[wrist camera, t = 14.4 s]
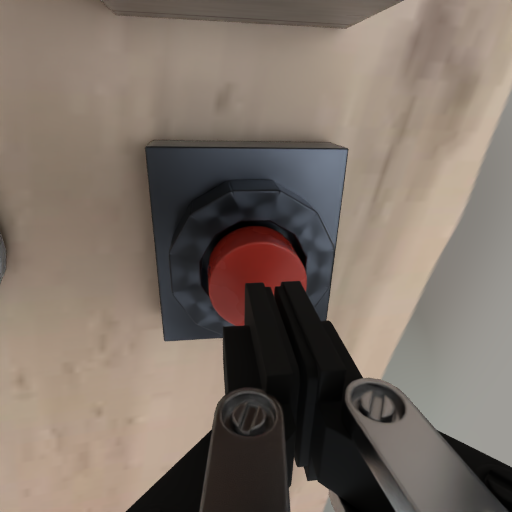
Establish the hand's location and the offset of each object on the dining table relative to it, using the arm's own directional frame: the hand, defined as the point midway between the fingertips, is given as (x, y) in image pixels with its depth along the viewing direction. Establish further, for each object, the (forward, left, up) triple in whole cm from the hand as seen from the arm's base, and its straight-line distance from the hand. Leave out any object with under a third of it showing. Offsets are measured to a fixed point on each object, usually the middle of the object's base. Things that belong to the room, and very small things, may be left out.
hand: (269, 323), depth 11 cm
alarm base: (0, 0, -7) cm, 7 cm away
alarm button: (0, 0, -4) cm, 4 cm away
